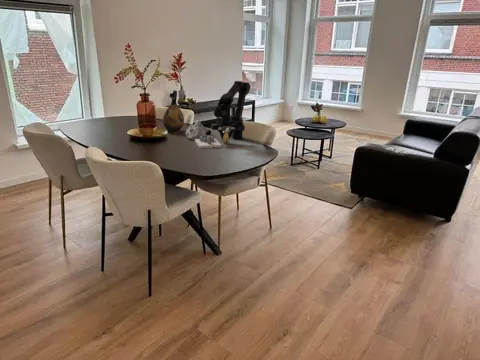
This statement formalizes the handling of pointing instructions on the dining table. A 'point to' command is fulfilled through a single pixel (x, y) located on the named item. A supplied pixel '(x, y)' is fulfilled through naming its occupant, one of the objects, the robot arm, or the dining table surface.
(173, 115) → the ceramic jug
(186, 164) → the dining table surface
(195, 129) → the mechanical valve
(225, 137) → the brass cylinder
